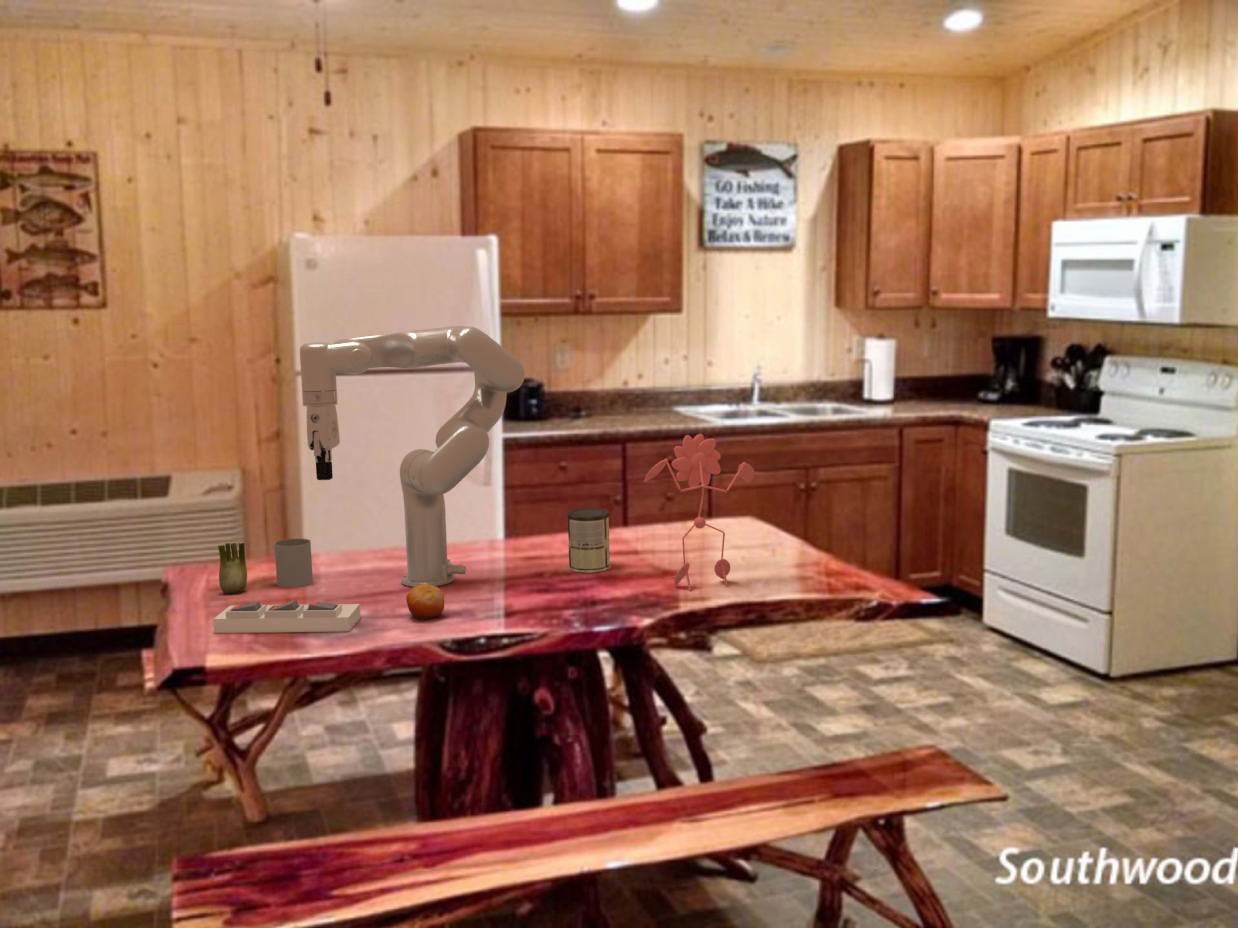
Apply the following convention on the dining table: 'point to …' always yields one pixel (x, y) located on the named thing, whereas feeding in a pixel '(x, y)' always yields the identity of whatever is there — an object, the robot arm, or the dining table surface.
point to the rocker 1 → (247, 607)
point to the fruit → (425, 601)
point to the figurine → (697, 467)
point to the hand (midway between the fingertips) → (324, 479)
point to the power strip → (287, 619)
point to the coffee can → (588, 540)
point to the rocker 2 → (321, 606)
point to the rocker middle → (286, 606)
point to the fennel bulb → (232, 568)
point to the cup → (293, 563)
